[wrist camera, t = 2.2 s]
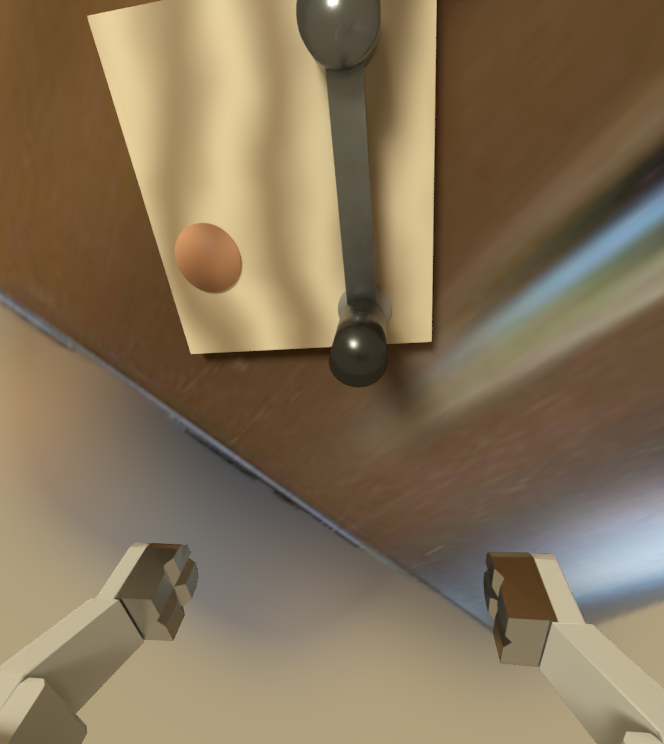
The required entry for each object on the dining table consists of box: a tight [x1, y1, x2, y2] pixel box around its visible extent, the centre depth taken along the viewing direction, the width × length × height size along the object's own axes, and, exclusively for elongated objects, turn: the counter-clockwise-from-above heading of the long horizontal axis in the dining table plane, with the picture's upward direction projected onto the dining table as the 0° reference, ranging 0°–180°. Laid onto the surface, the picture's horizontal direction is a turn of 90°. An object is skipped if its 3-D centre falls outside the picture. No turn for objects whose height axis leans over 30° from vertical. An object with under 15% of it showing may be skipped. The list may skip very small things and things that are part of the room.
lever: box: [296, 0, 387, 387], centre depth 21 cm, size 4×20×8 cm, turn 6°
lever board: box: [87, 0, 437, 354], centre depth 26 cm, size 20×22×2 cm
